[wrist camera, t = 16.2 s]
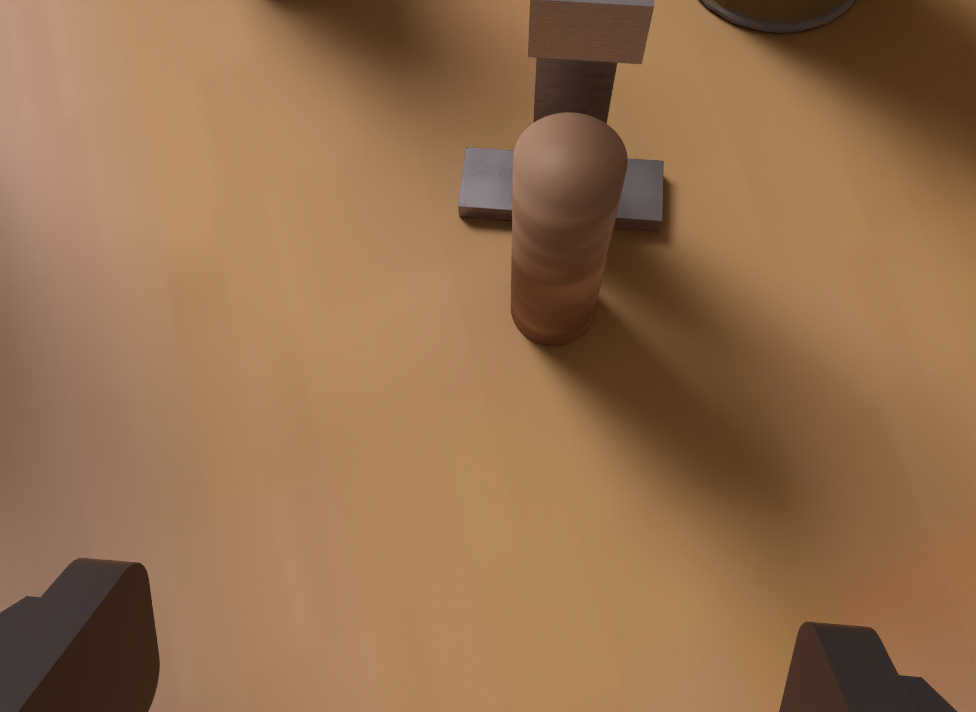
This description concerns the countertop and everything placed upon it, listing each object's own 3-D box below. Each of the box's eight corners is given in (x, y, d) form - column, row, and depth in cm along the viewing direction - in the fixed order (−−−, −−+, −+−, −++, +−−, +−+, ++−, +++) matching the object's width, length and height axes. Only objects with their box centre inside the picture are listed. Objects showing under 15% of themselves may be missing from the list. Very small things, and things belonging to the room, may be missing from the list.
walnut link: (507, 342, 40) (508, 203, 29) (514, 267, 42) (517, 108, 31) (592, 348, 40) (625, 212, 29) (596, 273, 41) (629, 116, 30)
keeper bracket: (444, 334, 40) (388, -10, 21) (466, 158, 44) (436, -271, 25) (655, 351, 40) (800, 15, 20) (660, 172, 44) (785, -256, 24)
